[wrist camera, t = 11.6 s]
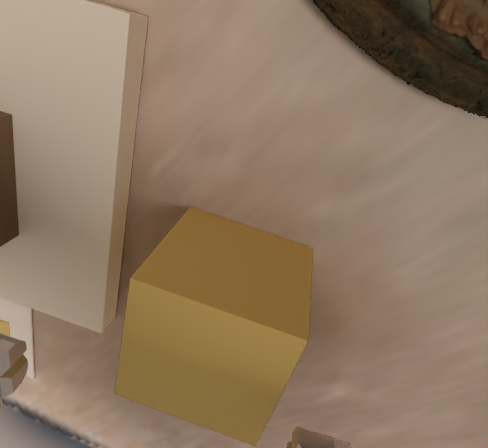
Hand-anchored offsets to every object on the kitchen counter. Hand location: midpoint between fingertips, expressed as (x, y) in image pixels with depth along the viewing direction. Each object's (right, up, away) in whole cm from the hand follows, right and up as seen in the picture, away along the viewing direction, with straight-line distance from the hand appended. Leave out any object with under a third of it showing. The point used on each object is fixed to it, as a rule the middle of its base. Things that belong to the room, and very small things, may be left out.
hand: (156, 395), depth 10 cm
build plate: (-8, +8, +4) cm, 12 cm away
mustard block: (+2, +3, +5) cm, 6 cm away
